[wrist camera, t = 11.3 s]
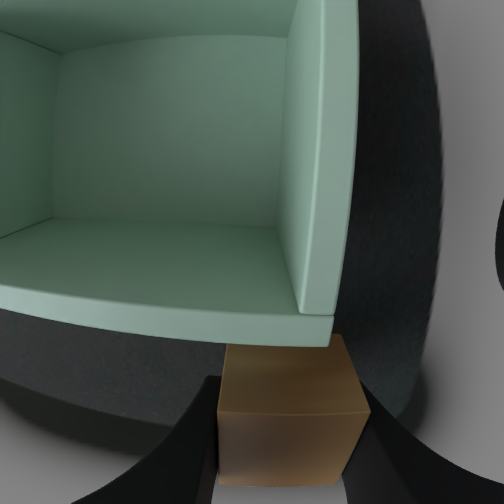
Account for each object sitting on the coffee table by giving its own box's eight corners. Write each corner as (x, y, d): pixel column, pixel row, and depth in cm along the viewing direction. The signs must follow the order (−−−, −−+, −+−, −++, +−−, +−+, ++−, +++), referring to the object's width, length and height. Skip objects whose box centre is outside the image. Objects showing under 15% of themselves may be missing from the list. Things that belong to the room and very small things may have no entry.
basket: (60, 48, 9) (-55, 4, 3) (302, 31, 9) (350, -87, 3) (55, 263, 12) (-53, 339, 5) (285, 281, 12) (313, 414, 5)
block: (340, 333, 11) (371, 411, 7) (321, 409, 12) (336, 484, 8) (228, 329, 11) (216, 411, 7) (227, 407, 12) (218, 484, 8)
